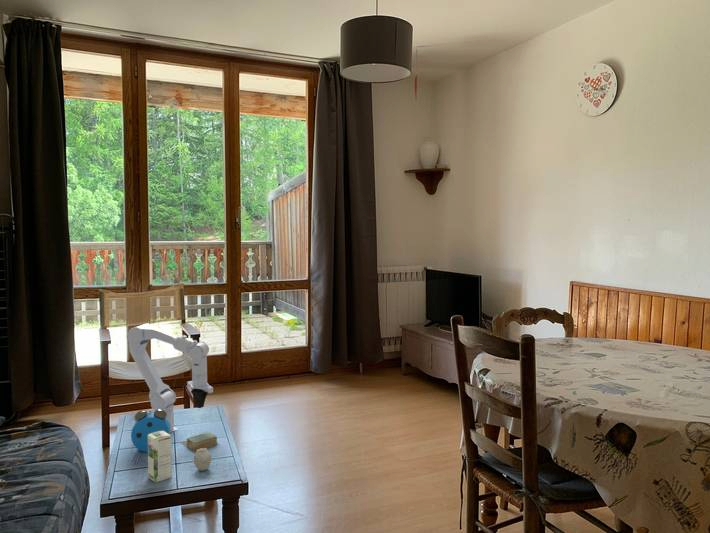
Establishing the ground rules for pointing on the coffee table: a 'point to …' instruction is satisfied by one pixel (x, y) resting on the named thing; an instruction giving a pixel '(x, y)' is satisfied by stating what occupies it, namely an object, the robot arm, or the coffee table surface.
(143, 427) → the alarm clock
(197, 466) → the beige rounded lump
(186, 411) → the coffee table surface
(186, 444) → the rubber mat
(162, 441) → the syrup box
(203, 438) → the oak slab
